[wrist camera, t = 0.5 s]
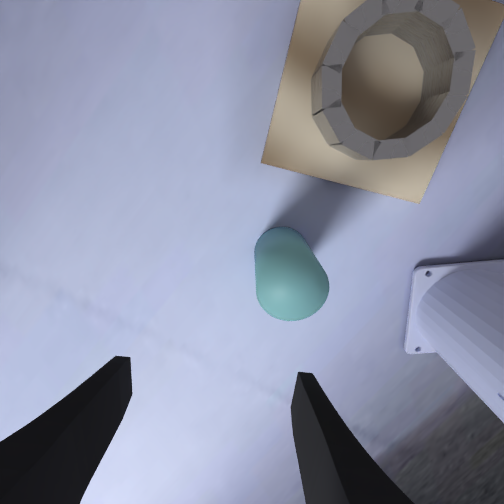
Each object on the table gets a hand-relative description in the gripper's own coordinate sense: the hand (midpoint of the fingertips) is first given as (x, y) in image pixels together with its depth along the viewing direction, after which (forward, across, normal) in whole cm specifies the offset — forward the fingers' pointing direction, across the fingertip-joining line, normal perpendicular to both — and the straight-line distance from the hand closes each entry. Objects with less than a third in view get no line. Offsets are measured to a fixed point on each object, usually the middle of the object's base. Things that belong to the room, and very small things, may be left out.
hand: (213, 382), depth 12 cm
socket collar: (+10, -8, -14) cm, 19 cm away
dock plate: (+10, -8, -14) cm, 19 cm away
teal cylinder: (+10, -4, -3) cm, 11 cm away
